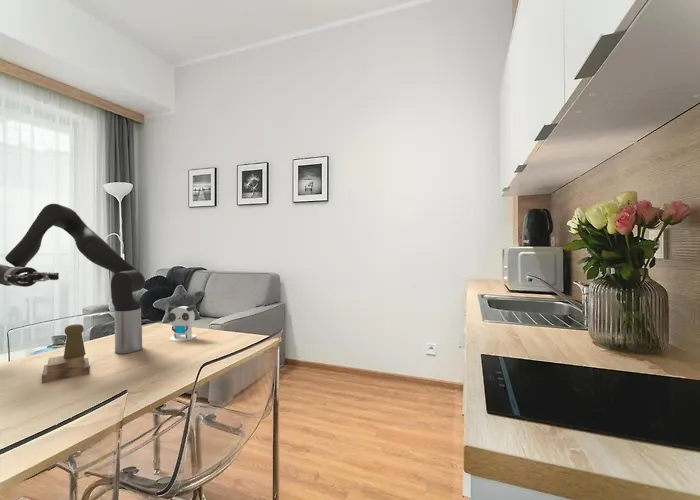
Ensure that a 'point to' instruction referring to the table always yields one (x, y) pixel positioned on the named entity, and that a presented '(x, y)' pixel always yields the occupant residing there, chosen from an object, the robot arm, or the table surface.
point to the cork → (74, 342)
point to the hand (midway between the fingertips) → (42, 278)
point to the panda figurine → (181, 322)
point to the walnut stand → (64, 368)
